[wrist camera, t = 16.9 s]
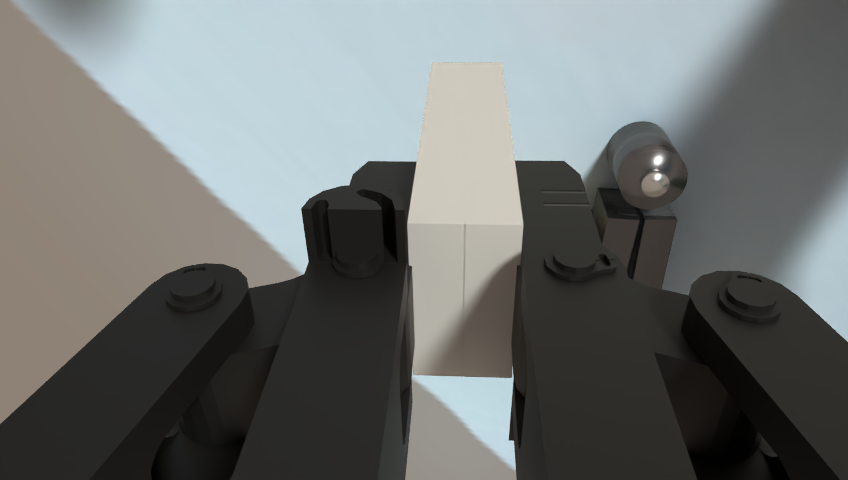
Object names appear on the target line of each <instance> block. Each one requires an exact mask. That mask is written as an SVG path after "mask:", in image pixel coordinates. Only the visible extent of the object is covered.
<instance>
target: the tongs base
mask: <svg viewBox="0 0 848 480" xmlns="http://www.w3.org/2000/svg"><path fill="white" fill-rule="evenodd" d="M607 158H608V162H609V164H610V167H611V169H612V171H613V174H614V176H615V179H616V181H617V184H618V186H619V189H620V191H621V194H622V196H623V197H624V199H625V200H626V201H627V202H628V203H629V204H631V205H633V206H634V208H635V210H636V213H637V215H638V217H639V220H640V221H639V225H638V229H637V232H636V236H635V240H634V244H633V248H632V252H631V256H630V259H629V263H628V267H627V271H626V272H627V275H628V278H630V279H632V280H634V281H636V282H639V283H641V284H643V285H647V286H650V287H654V288H657V289H661V288H662V283H663V279H664V275H665V270H666V266H667V262H668V257H669V253H670V249H671V244H672V240H673V236H674V231H675V227H676V223H677V219H676V217H675V215H674V213H673V211H672V209H671V207H670V205H669V203H671V202H672V201H674V200H675V199H676V198H677V197H678V196H679V195H680V194H681V193H682V191H683V190H684V188H685V186H686V183H687V178H688V173H687V168H686V166H685V164H684V162H683V161H682V159H681V157H680V156H679V154H678V152H677V151H676V149H675V148H674V146H673V144H672V143H671V141H670V140H669V138H668V136H667V135H666V133H665V132H664V130H663V129H662V128H660V127H659V126H658V125H656V124H653V123H650V122H634V123H631V124H628V125H626V126H624V127H622V128H621V129H620V130H618V131H617V132H616V133H615V134H614V135H613V137H612V138H611V140H610V142H609V144H608V148H607Z"/></svg>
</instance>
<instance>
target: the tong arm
mask: <svg viewBox="0 0 848 480" xmlns="http://www.w3.org/2000/svg"><path fill="white" fill-rule="evenodd" d="M592 214H593V217H594V221H595V224H596V227H597V230H598V234H599V237H600V240H601V243H602V246H603V247H605V248H606V249H608V250H609V251H611V252H612V253H613V254H615V255H616V256H618V258H619V259H620V261H621V262H622V264H623V265H624V267H625V269H626V271H627V267H628V263H629V259H630V256H631V252H632V248H633V244H634V240H635V236H636V232H637V229H638V225H639V221H640V220H639V217H638V215H637V213H636V210H635V208H634V206H633V205H631V204H629V203H628V202H627V201H626V200H625V199H624V197H623V196H622V194H621V191H620V189H604V188H598V189H597V194H596V199H595V204H594V208H593V213H592Z"/></svg>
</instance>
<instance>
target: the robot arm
mask: <svg viewBox="0 0 848 480" xmlns="http://www.w3.org/2000/svg"><path fill="white" fill-rule="evenodd" d="M301 210H302V217H303V224H304V231H305V238H306V245H307V252H308V259H309V263H308V266H307V268H306V271H305V274H304V275H301V276H299V277H296V278H294V279H291V280H288V281H284V282H280V283H275V284H270V285H265V286H259V287H254V288H249V287H248V282H247V278H246V277H245V276H244V275H243V274H242V273H241V272H240V271H239V270H238V269H236V268H233V267H230V266H227V265H224V264H207V263H205V264H198V265H191V266H187V267H183V268H181V269H178V270H176V271H173V272H171V273H168V274H166V275H164V276H163V277H161V278H160V279H159V280H157V281H156V282H154V283H153V284H151V285H150V286H149V287H148V288H147V289H146V290H145V291H144V292H143V293H141V294H140V295H139V296H138V297H137V298H136V299H135V300H134V301H133V302H132V303H131V304H130V305H128V306H127V307H126V308H125V309H124V310H123V311H122V312H121V313H120V314H119V315H118V316H117V317H116V318H114V319H113V320H112V321H111V322H110V323H109V324H108V325H107V326H106V327H105V328H104V329H103V330H102V331H101V332H99V333H98V334H97V335H96V336H95V337H94V338H93V339H92V340H91V341H90V342H89V343H88V344H86V346H85V347H83V348H82V349H81V350H80V351H79V352H78V353H77V354H76V355H75V356H73V358H71V359H70V360H69V361H68V362H67V363H66V364H65V365H64V366H63V367H62V368H60V370H58V371H57V372H56V373H55V374H54V375H53V376H52V377H51V378H50V379H49V380H48V381H46V382H45V383H44V384H43V385H42V386H41V387H40V388H39V389H38V390H37V391H36V392H35V393H34V394H32V395H31V396H30V397H29V398H28V399H27V400H26V401H25V402H24V403H23V404H22V405H21V406H20V407H18V408H17V409H16V410H15V411H14V412H13V413H12V414H11V415H10V416H9V417H8V418H7V419H5V420H4V421H3V422H2V423H1V424H0V480H405V474H406V464H407V454H408V443H409V432H410V422H411V411H412V383H411V382H412V381H411V376H412V366H413V375H432V376H465V377H499V378H512V366H513V374H514V382H513V395H512V407H511V419H510V432H509V440H514V446H515V461H516V476H517V480H848V342H847V341H846V340H845V339H844V338H843V337H842V336H840V335H839V334H838V333H837V332H836V331H835V330H834V329H833V328H832V327H831V326H830V325H829V324H828V323H826V322H825V321H824V320H823V319H822V318H821V317H820V316H819V315H818V314H817V313H816V312H815V311H814V310H812V309H811V308H810V307H809V306H808V305H807V304H806V303H805V302H804V301H803V300H802V299H801V298H799V297H798V296H797V295H796V294H794V293H793V292H791V291H790V290H789V289H787V288H786V287H784V286H783V285H781V284H779V283H777V282H774V281H772V280H769V279H767V278H765V277H762V276H760V275H756V274H752V273H747V272H740V271H717V272H713V273H710V274H706V275H703V276H701V277H700V278H699V279H697V280H696V281H695V282H694V283H693V284H692V286H691V290H690V293H689V295H684V294H680V293H675V292H670V291H666V290H661V289H657V288H654V287H650V286H647V285H643V284H641V283H639V282H636V281H634V280H632V279H630V278H628V275H627V272H626V269H625V267H624V265H623V264H622V262H621V261H620V259H619V258H618V256H616V255H615V254H613V253H612V252H611V251H609V250H608V249H606V248H605V247H603V246H602V243H601V240H600V237H599V234H598V230H597V227H596V224H595V221H594V217H593V214H592V211H591V208H590V206H589V201H588V198H587V195H586V193H585V188H584V185H583V182H582V179H581V175H580V174H579V173H578V172H576V171H575V170H574V169H573V168H572V167H571V166H569V165H568V164H567V163H566V162H565V161H515V157H514V150H513V142H512V135H511V127H510V119H509V112H508V104H507V97H506V89H505V82H504V74H503V66H502V63H432V66H431V72H430V79H429V85H428V92H427V98H426V105H425V111H424V118H423V124H422V131H421V137H420V144H419V150H418V157H417V162H386V161H368V162H367V163H366V164H365V165H364V166H362V167H361V168H360V169H359V170H358V171H356V172H355V173H354V174H353V176H352V179H351V182H350V185H349V186H340V187H336V188H333V189H329V190H326V191H323V192H321V193H319V194H317V195H316V196H314V197H312V198H310V199H309V200H308V201H307V202H306V204H305V205H304V206H303V207H302V209H301Z"/></svg>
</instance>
